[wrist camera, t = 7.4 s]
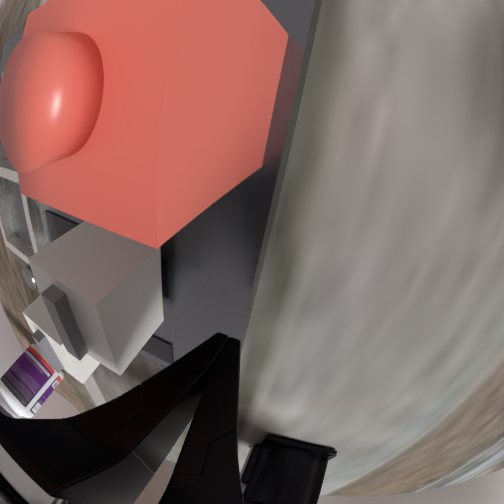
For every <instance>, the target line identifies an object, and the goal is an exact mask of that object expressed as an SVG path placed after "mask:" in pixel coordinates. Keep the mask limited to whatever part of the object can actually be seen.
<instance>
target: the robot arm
mask: <svg viewBox="0 0 504 504" xmlns="http://www.w3.org/2000/svg"><path fill="white" fill-rule="evenodd" d="M240 353H241V341H240V340H239V339H236V338H233V337H229V336H228V335H226V334H223V333H220V332H217V333H216V334H214V335H213V336H211V337H210V338H208V339H207V340H206V341H204V342H203V343H201V344H200V345H198V346H197V347H195V348H194V349H192V350H191V351H189V352H188V353H187V354H185V355H184V356H182V357H181V358H179V359H178V360H176V361H175V362H173V363H172V364H170V365H169V366H167V367H166V368H164V369H162V370H161V371H159V372H158V373H156V374H155V375H153V376H152V377H150V378H149V379H147V380H145V381H144V382H142V383H141V385H137V386H136V387H134V388H133V389H131V390H129V391H128V392H126V393H124V394H122V395H121V396H119V397H117V398H115V399H113V400H111V401H109V402H107V403H104V404H102V405H100V406H97V407H95V408H93V409H90V410H88V411H85V412H83V413H80V414H78V415H75V416H72V417H69V418H62V419H22V418H14V417H13V416H12V415H11V414H10V413H9V412H7V411H6V410H5V409H4V408H3V407H2V406H1V405H0V504H133V503H134V502H135V500H136V499H137V498H138V497H139V495H140V494H141V492H142V491H143V490H144V488H145V487H146V485H147V484H148V482H149V481H150V480H151V478H152V477H153V475H154V473H155V472H156V471H157V469H158V468H159V467H160V465H161V464H162V462H163V461H164V459H165V458H166V456H167V455H168V453H169V452H170V450H171V449H172V447H173V446H174V444H175V443H176V441H177V440H178V438H179V437H180V435H181V434H182V432H183V431H184V429H185V428H186V426H187V425H188V423H189V421H190V420H191V418H192V417H193V415H194V417H193V420H192V422H191V425H190V428H189V430H188V433H187V436H186V439H185V441H184V444H183V447H182V449H181V452H180V455H179V457H178V460H177V463H176V465H175V468H174V471H173V474H172V476H171V479H170V481H169V483H168V486H167V488H166V490H165V492H164V494H163V496H162V498H161V500H160V501H159V503H158V504H317V502H318V498H319V495H320V491H321V487H322V483H323V479H324V475H325V471H326V467H327V463H328V460H330V459H332V458H334V457H335V456H336V454H337V451H335V450H331V449H325V448H320V447H316V446H311V445H307V444H302V443H298V442H294V441H290V440H287V439H283V438H279V437H276V436H272V435H265V436H264V438H263V439H262V440H261V441H260V443H259V444H258V443H256V444H254V445H253V447H252V448H251V449H250V451H249V453H248V456H247V458H246V461H245V463H244V466H243V468H242V471H241V473H240V472H239V463H238V429H237V428H238V408H239V380H240Z"/></svg>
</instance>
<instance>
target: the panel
mask: <svg viewBox="0 0 504 504" xmlns="http://www.w3.org/2000/svg"><path fill="white" fill-rule="evenodd" d="M260 1H261V2H262V3H263V4H264V5H265V6H266V8H267V9H268V10H269V11H270V12H271V14H272V15H273V16H274V17H275V18H276V20H277V21H278V22H279V23H280V25H281V26H282V27H283V28H284V30H285V31H286V32H287V34H288V35H289V36H288V41H287V45H286V50H285V55H284V60H283V65H282V69H281V74H280V79H279V84H278V89H277V94H276V99H275V104H274V109H273V113H272V118H271V123H270V128H269V133H268V138H267V143H266V148H265V153H264V158H263V163H262V167H261V168H259V169H258V170H257V171H255V172H254V173H253V174H251V175H250V176H249V177H247V178H246V179H244V180H243V181H242V182H240V183H239V184H238V185H236V186H235V187H234V188H232V189H231V190H230V191H229V192H227V193H226V194H225V195H223V196H222V197H221V198H219V199H218V200H217V201H216V202H214V203H213V204H212V205H210V206H209V207H208V208H207V209H205V210H204V211H203V212H202V213H200V214H199V215H198V216H197V217H195V218H194V219H193V220H192V221H190V222H189V223H188V224H187V225H185V226H184V227H183V228H182V229H181V230H179V231H178V232H177V233H176V234H174V235H173V236H172V237H171V238H170V239H168V240H167V241H166V242H165V243H164V244H163V245H161V246H160V250H161V283H162V301H163V316H164V321H163V322H162V323H161V324H160V326H159V327H158V328H157V330H156V331H155V332H154V333H153V335H152V336H151V337H150V338H149V340H148V341H147V342H146V344H145V345H144V346H143V347H142V349H141V350H140V351H139V353H138V354H140V355H142V356H143V357H145V358H147V359H149V360H151V361H153V362H155V363H157V364H159V365H161V366H163V367H165V368H166V367H167V366H169V365H170V364H172V363H173V362H175V361H176V360H178V359H179V358H181V357H182V356H184V355H185V354H187V353H188V352H189V351H191V350H192V349H194V348H195V347H197V346H198V345H200V344H201V343H203V342H204V341H206V340H207V339H208V338H210V337H211V336H213V335H214V334H216V333H217V332H220V333H223V334H226V335H228V336H229V337H233V338H236V339H239V340H240V341H241V350H242V346H243V342H244V338H245V334H246V330H247V326H248V322H249V318H250V314H251V310H252V306H253V302H254V298H255V294H256V290H257V286H258V282H259V278H260V274H261V270H262V266H263V261H264V257H265V253H266V249H267V245H268V241H269V237H270V232H271V228H272V224H273V220H274V215H275V211H276V207H277V203H278V198H279V194H280V190H281V186H282V181H283V177H284V173H285V168H286V164H287V159H288V155H289V151H290V146H291V142H292V137H293V133H294V128H295V124H296V119H297V115H298V110H299V106H300V101H301V96H302V92H303V87H304V83H305V78H306V73H307V69H308V64H309V59H310V54H311V49H312V45H313V40H314V35H315V30H316V25H317V20H318V15H319V10H320V5H321V0H260ZM23 33H24V29H22V30H21V31H19V32H18V33H16V34H15V35H14V36H12V37H11V38H10V39H8V40H7V41H6V42H4V46H3V51H2V58H1V65H0V83H1V78H2V75H3V71H4V68H5V66H6V63H7V61H8V59H9V57H10V55H11V53H12V51H13V49H14V48H15V46H16V45H17V44H18V42H19V41H20V40H21V39H22V38H23ZM83 222H84V220H82V219H79V218H77V217H75V216H72V215H70V214H67V213H65V212H63V211H60V210H58V209H55V208H53V207H51V206H48V205H46V204H44V203H41V202H39V201H37V200H34V199H32V198H30V197H28V196H25V195H23V194H21V192H20V186H19V178H18V171H17V170H15V169H14V168H13V167H12V165H11V164H10V162H9V161H8V159H7V157H6V155H5V153H4V150H3V147H2V144H1V140H0V227H1V230H2V234H3V238H4V241H5V244H6V246H7V247H8V248H9V249H10V250H12V251H13V252H14V253H15V254H16V255H18V256H19V257H20V261H21V264H22V267H23V269H22V275H23V277H24V279H25V281H26V283H27V284H28V286H29V287H30V288H31V289H32V290H35V289H36V288H37V284H36V281H35V279H34V276H33V273H32V270H31V267H30V264H29V261H28V258H30V257H31V256H32V255H34V254H35V253H37V252H38V251H40V250H41V249H42V248H44V247H45V246H47V245H48V244H50V243H51V242H53V241H54V240H56V239H57V238H59V237H60V236H62V235H63V234H65V233H67V232H68V231H70V230H71V229H73V228H75V227H76V226H78V225H79V224H81V223H83ZM240 354H241V353H240Z"/></svg>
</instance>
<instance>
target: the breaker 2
mask: <svg viewBox="0 0 504 504" xmlns="http://www.w3.org/2000/svg"><path fill="white" fill-rule="evenodd" d="M22 312H23V314H24V316H25V318H26V320H27V322H28V324H29V326H30V328H31V330H32V331H33V334H32V337H33V339H34V341H35V342H36V344H37V346H38V347H39V349H40V351H41V352H42V354H43V355H44V357H45V359H46V360H47V362H48V363H49V365H50V366H51V367H52V368H53V369H54V370H55V371H56V372H57V373H58V374H59V373H60V372H61V370H62V369H64V370H66V371H67V372H68V373H69V374H71V375H72V376H73V377H74V378H76V379H77V380H78V381H80V382H81V383H82V384H84V382H85V381H86V380H87V379H88V377H89V376H90V375H91V374H92V373H93V371H94V370H95V369H96V368H97V366H98V365H99V364H100V363H99V362H98V361H96V360H95V359H94V358H92V357H91V356H89V355H88V354H86V355H85V356H84V357H83V358H82V359H81V361H79V360H78V359H77V358H75V357H74V356H73V355H71V354H70V353H69V352H67V350H66V348H65V346H64V344H63V342H62V340H61V338H60V336H59V334H58V332H57V331H56V329H55V327H54V325H53V323H52V321H51V318H50V316H49V314H48V312H47V309H46V307H45V305H44V302H43V300H42V297H41V295H40V296H39V297H38V298H37V299H36V300H34V301H33V302H32V303H31V304H30V305H29V306H28V307H27V308H25V309H24V310H23V311H22Z"/></svg>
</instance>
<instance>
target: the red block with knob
mask: <svg viewBox="0 0 504 504" xmlns="http://www.w3.org/2000/svg"><path fill="white" fill-rule="evenodd" d="M288 36H289V35H288V34H287V32H286V31H285V30H284V28H283V27H282V26H281V25H280V23H279V22H278V21H277V20H276V18H275V17H274V16H273V15H272V14H271V12H270V11H269V10H268V9H267V8H266V6H265V5H264V4H263V3H262V2H261V1H260V0H49V1H47V2H46V3H44V4H43V5H41V6H40V7H38V8H37V9H35V10H34V11H32V12H31V13H30V14H28V16H27V20H26V24H25V28H24V33H23V38H22V39H21V40H20V41H19V42H18V44H17V45H16V46H15V48H14V49H13V51H12V53H11V55H10V57H9V59H8V61H7V63H6V66H5V68H4V71H3V75H2V78H1V83H0V140H1V144H2V147H3V150H4V153H5V155H6V157H7V159H8V161H9V162H10V164H11V165H12V167H13V168H14V169H15V170H17V171H18V178H19V186H20V192H21V194H23V195H25V196H28V197H30V198H32V199H34V200H37V201H39V202H41V203H44V204H46V205H48V206H51V207H53V208H55V209H58V210H60V211H63V212H65V213H67V214H70V215H72V216H75V217H77V218H79V219H82V220H84V221H87V222H89V223H92V224H94V225H97V226H99V227H102V228H104V229H107V230H109V231H112V232H114V233H117V234H119V235H122V236H124V237H127V238H130V239H132V240H135V241H137V242H140V243H142V244H145V245H148V246H150V247H153V248H156V249H158V248H159V247H160V246H161V245H163V244H164V243H165V242H166V241H167V240H168V239H170V238H171V237H172V236H173V235H174V234H176V233H177V232H178V231H179V230H181V229H182V228H183V227H184V226H185V225H187V224H188V223H189V222H190V221H192V220H193V219H194V218H195V217H197V216H198V215H199V214H200V213H202V212H203V211H204V210H205V209H207V208H208V207H209V206H210V205H212V204H213V203H214V202H216V201H217V200H218V199H219V198H221V197H222V196H223V195H225V194H226V193H227V192H229V191H230V190H231V189H232V188H234V187H235V186H236V185H238V184H239V183H240V182H242V181H243V180H244V179H246V178H247V177H249V176H250V175H251V174H253V173H254V172H255V171H257V170H258V169H259V168H261V167H262V163H263V158H264V153H265V148H266V143H267V138H268V133H269V128H270V123H271V118H272V113H273V109H274V104H275V99H276V94H277V89H278V84H279V79H280V74H281V69H282V65H283V60H284V55H285V50H286V45H287V41H288Z"/></svg>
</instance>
